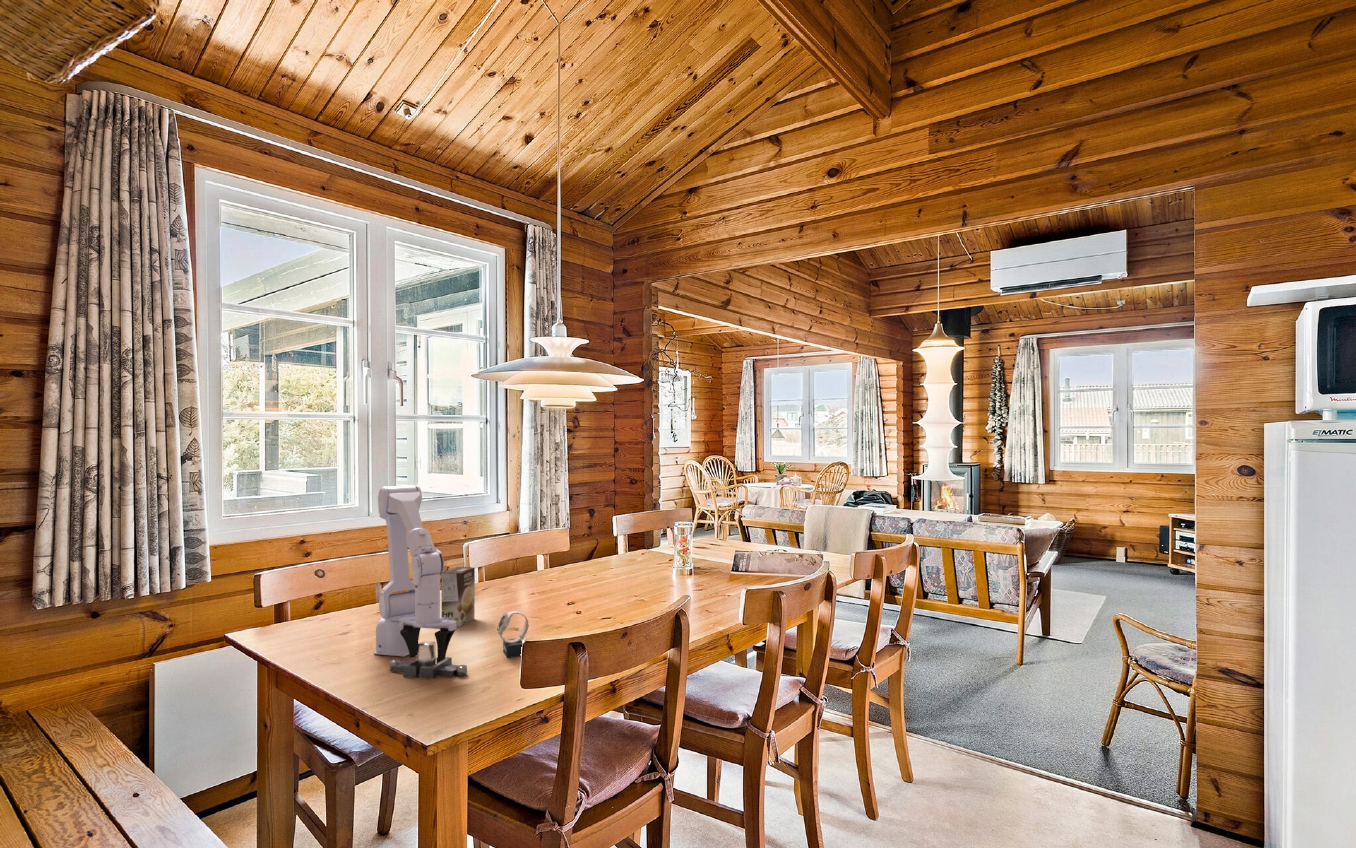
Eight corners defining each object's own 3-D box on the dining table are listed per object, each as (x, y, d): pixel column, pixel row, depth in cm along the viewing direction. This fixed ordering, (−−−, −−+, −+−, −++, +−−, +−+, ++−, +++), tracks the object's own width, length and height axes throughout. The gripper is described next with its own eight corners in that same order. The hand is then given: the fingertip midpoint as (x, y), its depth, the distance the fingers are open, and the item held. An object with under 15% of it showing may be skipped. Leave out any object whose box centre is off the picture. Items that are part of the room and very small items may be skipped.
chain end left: (380, 674, 167) (379, 663, 167) (400, 663, 175) (400, 653, 175) (416, 677, 165) (416, 667, 165) (435, 666, 172) (435, 656, 172)
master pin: (414, 674, 167) (414, 645, 167) (425, 668, 171) (425, 640, 171) (428, 676, 165) (427, 647, 165) (439, 670, 169) (439, 642, 169)
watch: (495, 652, 182) (495, 611, 182) (526, 648, 186) (526, 607, 186) (499, 659, 177) (499, 616, 177) (530, 655, 181) (530, 612, 181)
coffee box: (460, 627, 206) (460, 573, 206) (440, 626, 207) (440, 572, 207) (475, 618, 215) (475, 567, 215) (456, 617, 216) (456, 566, 216)
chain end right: (419, 678, 164) (419, 667, 164) (439, 666, 172) (439, 656, 172) (457, 681, 162) (457, 670, 162) (474, 669, 170) (474, 659, 170)
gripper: (391, 604, 166) (391, 661, 166) (444, 608, 163) (445, 665, 163) (409, 597, 173) (409, 651, 173) (461, 600, 170) (461, 655, 170)
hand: (427, 657), depth 168 cm, fingers open, 7 cm apart
